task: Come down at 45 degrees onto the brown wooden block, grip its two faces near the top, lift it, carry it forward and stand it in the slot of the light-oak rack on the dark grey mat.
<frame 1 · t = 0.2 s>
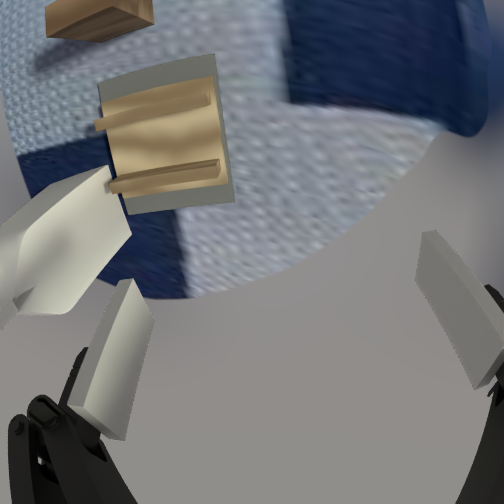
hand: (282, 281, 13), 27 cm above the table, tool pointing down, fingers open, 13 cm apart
mat: (164, 138, 36), on the table
rack: (163, 139, 35), resting on mat
brown wooden block: (124, 20, 26), on the table
milk: (89, 207, 41), on the table
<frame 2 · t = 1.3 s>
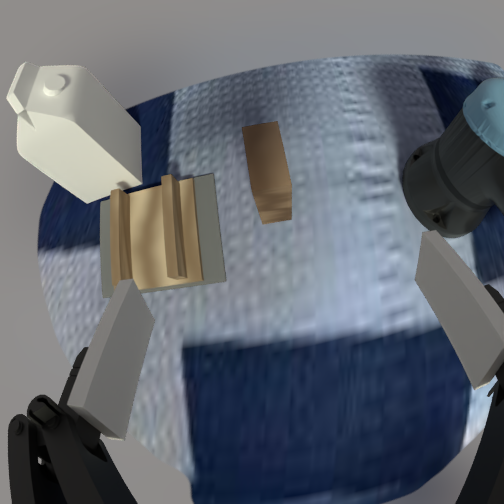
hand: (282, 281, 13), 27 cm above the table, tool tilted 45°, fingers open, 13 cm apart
mat: (154, 237, 43), on the table
rack: (153, 236, 43), resting on mat
brown wooden block: (272, 195, 42), on the table
milk: (113, 164, 47), on the table
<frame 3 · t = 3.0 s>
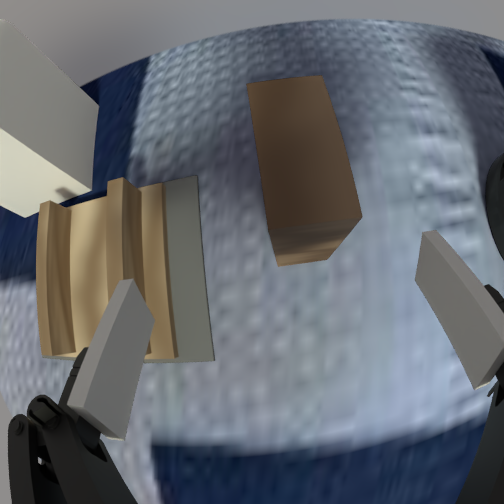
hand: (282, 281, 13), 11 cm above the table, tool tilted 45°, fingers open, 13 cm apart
mat: (104, 277, 26), on the table
rack: (103, 277, 25), resting on mat
brown wooden block: (295, 215, 25), on the table
milk: (59, 160, 29), on the table
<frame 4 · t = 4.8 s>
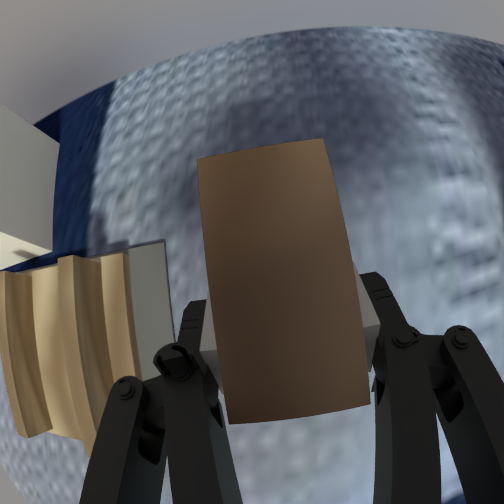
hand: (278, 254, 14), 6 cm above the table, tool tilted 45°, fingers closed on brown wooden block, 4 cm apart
mat: (72, 354, 21), on the table
rack: (70, 355, 20), resting on mat
brown wooden block: (285, 296, 20), on the table, touching gripper
milk: (21, 209, 25), on the table
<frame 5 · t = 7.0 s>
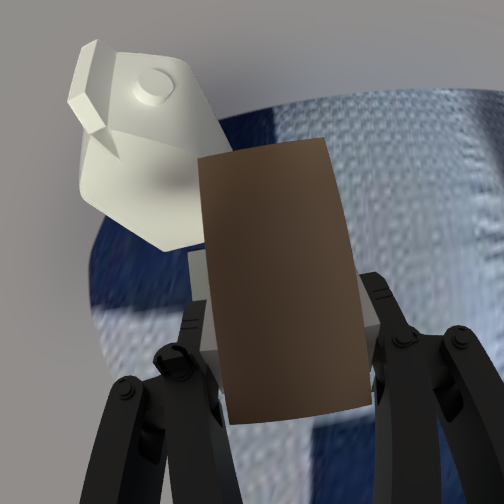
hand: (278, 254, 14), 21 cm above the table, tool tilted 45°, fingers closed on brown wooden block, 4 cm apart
mat: (275, 304, 35), on the table
brown wooden block: (285, 296, 20), point 16 cm above the table, touching gripper
milk: (198, 199, 39), on the table
when the fingers open (8 cm above the table, at t = 9.6 s): brown wooden block drops 1 cm, resting on rack.
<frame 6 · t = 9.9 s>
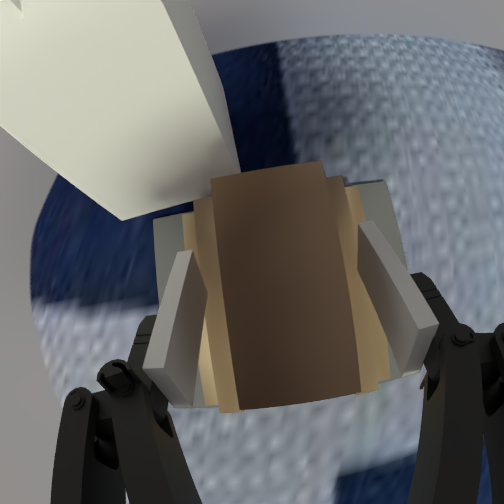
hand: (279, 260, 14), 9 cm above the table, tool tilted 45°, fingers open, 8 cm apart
mat: (285, 297, 22), on the table
rack: (285, 297, 22), resting on mat
brown wooden block: (286, 297, 21), point 1 cm above the table, touching rack
milk: (173, 148, 26), on the table
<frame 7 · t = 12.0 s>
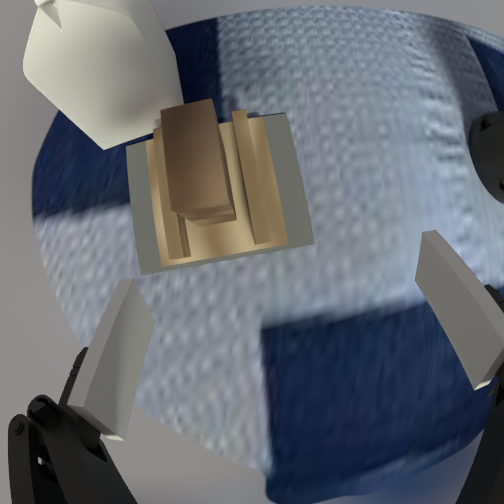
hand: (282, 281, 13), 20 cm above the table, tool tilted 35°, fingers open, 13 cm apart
mat: (213, 190, 33), on the table
rack: (213, 189, 33), resting on mat
brown wooden block: (212, 187, 32), point 1 cm above the table, touching rack
milk: (139, 98, 34), on the table
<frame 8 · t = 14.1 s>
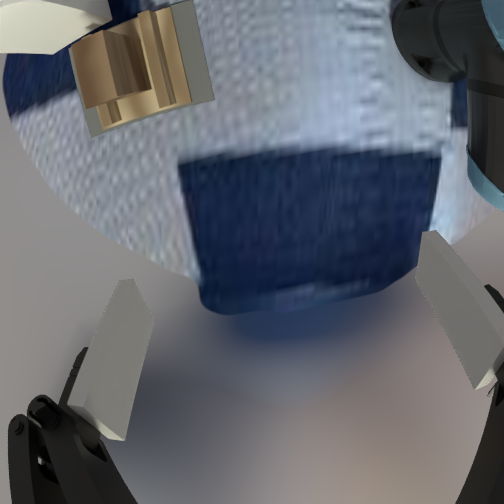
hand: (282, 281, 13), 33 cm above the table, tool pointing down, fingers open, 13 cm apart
mat: (135, 68, 34), on the table
rack: (134, 68, 33), resting on mat
brown wooden block: (132, 68, 33), point 1 cm above the table, touching rack
milk: (74, 8, 26), on the table
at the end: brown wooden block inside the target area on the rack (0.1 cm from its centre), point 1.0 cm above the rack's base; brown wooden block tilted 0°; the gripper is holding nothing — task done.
